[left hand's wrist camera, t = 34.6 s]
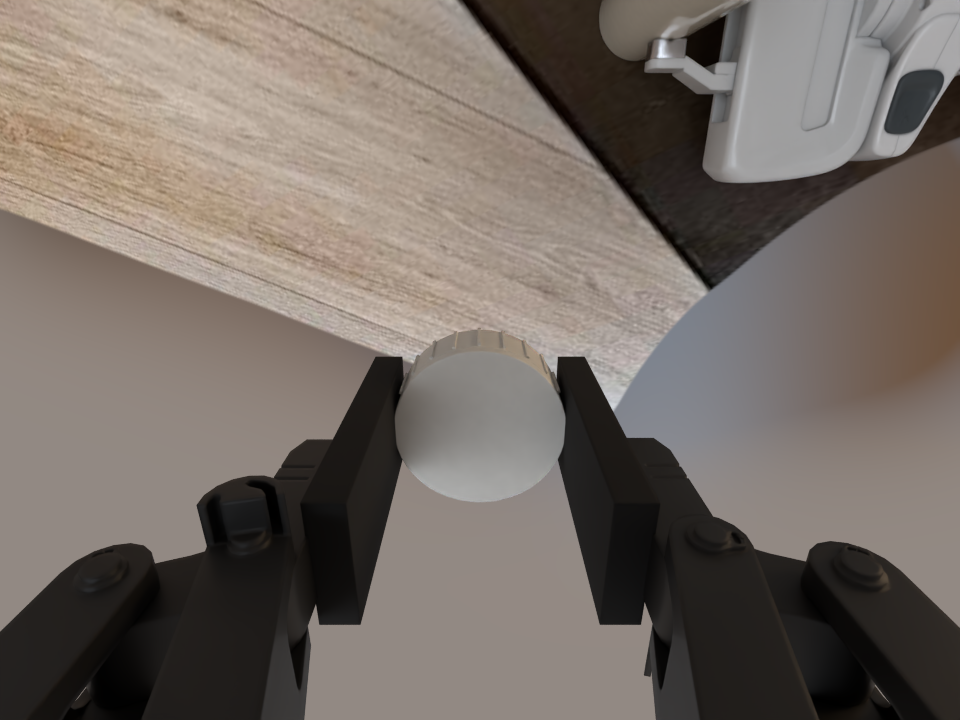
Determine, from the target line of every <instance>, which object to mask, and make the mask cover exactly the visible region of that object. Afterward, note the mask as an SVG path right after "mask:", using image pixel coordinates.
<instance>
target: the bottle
mask: <svg viewBox="0 0 960 720" xmlns="http://www.w3.org/2000/svg"><path fill="white" fill-rule="evenodd" d="M750 1H752V0H602V3H601V7H600V13H599V25H600V31H601V35H602V37H603V40H604V42H605V44H606V45H607V47H608V48H609V49H610V50H611V51H612V52H613V53H614V54H615V55H617V56H618V57H620V58H622V59H625V60H629V61H641V60H645V59H646V54H647V46H648V43H649V42H651V41H652V40H654V39H660V38H664V39H668V40H670V41H672V40H674V39H679V38H686V37H688V36H690V35H691V34H693V33H695V32H697V31H698V30H700V29H702V28H704V27H706V26H707V25H709V24H711V23H713V22H714V21H716V20H718V19H720V18H721V17H723V16H725V15H727V14H729V13H730V12H732V11H734V10H736V9H737V8H739V7H741V6H743V5H745V4H746V3H748V2H750Z"/></svg>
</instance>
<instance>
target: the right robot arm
mask: <svg viewBox="0 0 960 720" xmlns="http://www.w3.org/2000/svg"><path fill="white" fill-rule="evenodd" d="M686 44H687V39H684V38H679V39H674V40H672V41H670V40H668V39H664V38H660V39H654V40H652V41H651V42H649V43H648V46H647V54H646V62H645V71H644V72H646V73H672V76H674V77H675V78H676V79H678V80H679V81H680V82H682V83H683V84H684V85H686V86H687V87H688V88H690V89H691V90H692V91H694V92H695V93H696V94H714V95H713V102H712V108H711V114H710V121H709V127H708V133H707V139H706V146H705V152H704V158H703V169H704V170H705V172H706V173H707V174H708V175H709V176H710V177H711V178H713V179H714V180H715V181H719V182H727V183H756V182H770V181H781V180H789V179H796V178H802V177H808V176H814V175H819V174H823V173H826V172H829V171H831V170H834V169H836V168H838V167H840V166H842V165H843V164H845V163H846V162H847V161H868V160H878V159H885V158H890V157H896V156H899V155H901V154H903V153H904V152H905V151H907V149H908V148H909V147H910V146H911V145H912V143H913V142H914V140H915V139H916V137H917V135H918V134H919V132H920V130H921V129H922V127H923V125H924V124H925V122H926V120H927V119H928V117H929V115H930V114H931V112H932V110H933V109H934V107H935V106H936V104H937V102H938V101H939V99H940V98H941V96H942V94H943V93H944V91H945V90H946V88H947V87H948V85H949V84H950V82H951V81H952V79H953V78H954V76H958V75H960V0H752V1H750V2H748V3H746V4H745V5H743V6H741V7H739V8H737V9H736V10H734V11H732V12H730V13H729V14H727V15H726V19H725V26H724V32H723V38H722V45H721V51H720V57H719V62H718V63H715V64H713V65H710V66H707V67H705V68H704V67H702V66H701V65H699V64H698V63H696V62H695V61H694V60H692V59H691V58H689V57H688V56H686V55H685V53H686Z"/></svg>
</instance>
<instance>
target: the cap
mask: <svg viewBox="0 0 960 720" xmlns="http://www.w3.org/2000/svg"><path fill="white" fill-rule="evenodd" d="M560 392H561V391H560V388H559V385H558V383H557V380H556V377H555V374H554V372H551V370H550V368H549V367H548V365H547V364H546V362H545V360H544V357H543V355H542V354H540V355H539V354H538V353H537V352H536V351H535V350H534V349H533V348H532V347H530V346H529V345H527V344H526V341H525V340H523V341H521V340H519V339H517V338H515V337H513V336H510V335H508V334H505V332H504V331H501V332H496V331H490V330H481V328H478V330H470V331H464V332H459V333H457V331H455V332H454V334H452V335H449V336H447V337H445V338H443V339H441V340H439V341H437V342H436V340H435V341H433V344H432V345H431V346H430V347H429V348H427V349H426V350H425V351H424V352H423V353H422V354H421V355H420V356H419V355H417V356H416V359H415V362H414V364H413V365H412V367H411V369H410V371H409V373H406V374H405V377H404V380H403V383H402V385H401V388H400V391H399V394H401V396H400V399H399V402H398V405H397V408H396V412H395V430H396V443H397V448H398V451H399V453H400V455H401V458H402V459H403V461H404V463H405V464H406V466H407V467H408V469H409V470H410V471H411V472H412V473H413V475H415V476H416V477H417V478H418V479H419V480H420V481H421V482H422V483H424V484H425V485H426V486H428V487H429V488H431V489H432V490H434V491H436V492H438V493H440V494H442V495H445V496H447V497H451V498H454V499H457V500H462V501H469V502H491V501H498V500H502V499H506V498H510V497H513V496H515V495H518V494H520V493H522V492H524V491H526V490H528V489H529V488H531V487H532V486H534V485H535V484H537V483H538V482H539V481H540V480H541V479H543V478H544V477H545V476H546V475H547V473H548V472H549V471H550V470H551V469H552V467H553V466H554V464H555V463H556V461H557V459H558V457H559V455H560V453H561V451H562V448H563V445H564V435H565V420H566V417H565V411H564V408H563V404H562V401H561V398H560V395H559V393H560Z"/></svg>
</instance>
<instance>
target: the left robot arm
mask: <svg viewBox="0 0 960 720" xmlns="http://www.w3.org/2000/svg"><path fill="white" fill-rule="evenodd" d="M403 380H404V376H403V359H402V357H375V359H374V361H373V363H372V365H371V367H370V369H369V371H368V373H367V375H366V377H365V379H364V380H363V382H362V384H361V386H360V388H359V390H358V392H357V394H356V396H355V398H354V400H353V402H352V404H351V406H350V407H349V409H348V411H347V413H346V415H345V417H344V419H343V421H342V423H341V425H340V427H339V429H338V431H337V433H336V435H335V437H334V438H333V440H306V441H304V442H303V443H302V444H300V445H299V446H297V447H296V448H295V449H293V450H292V451H291V452H290V453H289V455H288V456H287V458H286V459H285V461H284V462H283V464H282V467H281V468H280V469H279V470H278V472H277V473H276V475H275V476H274V478H271V477H267V476H247V477H242V478H237V479H233V480H230V481H228V482H226V483H223V484H221V485H218V486H217V487H215V488H214V489H212V490H211V491H209V492H208V493H206V494H205V495H204V496H203V497H202V499H201V500H200V501H199V503H198V504H197V509H198V513H199V517H200V521H201V524H202V529H203V533H204V537H205V540H206V544H207V548H206V550H205V552H202V553H198V554H195V555H191V556H187V557H183V558H178V559H173V560H169V561H164V562H160V563H156V564H155V562H154V559H153V556H152V552H151V551H150V550H148V549H147V548H146V547H145V546H143V545H138V544H132V543H128V544H120V545H113V546H110V547H106V548H103V549H100V550H97V551H94V552H92V553H90V554H88V555H87V556H85V557H83V558H81V559H79V560H77V561H75V562H74V563H73V564H71V565H70V566H69V567H68V568H66V569H65V570H64V571H62V572H61V573H60V574H59V575H58V576H57V577H56V578H55V579H54V580H53V581H52V582H51V583H50V584H49V585H48V586H47V587H46V588H45V589H44V590H43V591H42V592H40V593H39V594H38V595H37V596H36V597H35V598H34V599H33V600H32V601H31V602H30V603H29V604H28V605H27V606H26V607H25V608H24V609H23V610H22V611H21V612H20V613H19V614H18V615H17V616H16V617H15V618H14V619H13V620H12V621H11V622H10V623H9V624H8V625H7V626H6V627H5V628H4V629H3V630H2V631H0V720H304V715H305V704H306V693H307V682H308V672H309V660H310V649H311V643H310V637H309V631H308V624H309V621H310V618H311V616H312V613H313V610H314V607H315V605H316V606H317V613H318V619H319V624H320V625H360V624H361V620H362V617H363V613H364V609H365V605H366V601H367V597H368V593H369V589H370V585H371V581H372V577H373V573H374V569H375V566H376V562H377V558H378V554H379V550H380V546H381V542H382V538H383V534H384V530H385V526H386V522H387V518H388V514H389V510H390V507H391V503H392V499H393V495H394V491H395V487H396V483H397V479H398V475H399V471H400V467H401V463H402V458H401V455H400V453H399V451H398V448H397V443H396V430H395V412H396V408H397V405H398V402H399V399H400V396H401V394H399V391H400V388H401V385H402V383H403ZM557 383H558V385H559V388H560V391H561V392H560V393H559V395H560V398H561V401H562V404H563V408H564V411H565V417H566V420H565V435H564V445H563V448H562V451H561V453H560V455H559V457H558V462H559V466H560V470H561V474H562V478H563V482H564V485H565V490H566V493H567V497H568V501H569V505H570V509H571V513H572V517H573V521H574V525H575V529H576V533H577V537H578V541H579V545H580V548H581V552H582V556H583V560H584V564H585V568H586V572H587V576H588V580H589V584H590V588H591V592H592V596H593V599H594V603H595V607H596V611H597V615H598V619H599V623H600V625H641V621H642V615H643V609H644V602H645V604H646V607H647V609H648V612H649V615H650V617H651V620H652V623H653V625H652V631H651V637H650V642H649V648H648V654H647V660H646V665H645V672H644V675H645V676H649V677H650V676H651V671H652V681H653V692H654V703H655V714H656V720H960V628H959V627H958V626H957V625H956V624H955V623H954V622H953V621H952V620H951V619H950V618H949V617H948V616H947V615H946V614H945V613H944V612H943V611H942V610H941V609H940V608H939V607H938V606H937V605H936V604H935V603H933V602H932V601H931V600H930V599H929V598H928V597H927V596H926V595H925V594H924V593H923V592H922V591H921V590H920V589H919V588H918V587H917V586H916V585H915V584H914V583H913V582H912V581H911V580H910V579H909V578H908V577H907V576H906V575H905V574H904V573H903V572H901V571H900V570H899V569H898V568H896V567H895V566H894V565H893V564H891V563H890V562H889V561H887V560H886V559H885V558H883V557H881V556H879V555H877V554H875V553H873V552H871V551H869V550H867V549H864V548H861V547H859V546H855V545H852V544H849V543H842V542H833V541H829V542H823V543H818V544H816V545H815V546H814V547H813V548H811V549H810V551H809V554H808V557H807V560H806V562H805V561H801V560H796V559H792V558H787V557H783V556H778V555H774V554H769V553H766V552H762V551H759V550H756V549H754V547H753V545H752V543H751V542H750V540H749V539H748V537H747V536H746V535H745V534H744V533H743V532H742V531H740V530H739V529H738V528H737V527H735V526H734V525H732V524H730V523H728V522H726V521H724V520H722V519H720V518H716V517H713V516H712V514H711V513H710V511H709V509H708V508H707V506H706V505H705V503H704V502H703V500H702V499H701V497H700V495H699V494H698V492H697V491H696V489H695V488H694V486H693V485H692V483H691V482H690V480H689V479H688V478H687V476H686V474H685V472H684V471H683V469H682V468H681V467H679V463H678V461H677V460H676V458H675V457H674V455H673V454H672V452H671V450H670V449H668V448H667V447H665V446H664V445H663V444H661V443H660V442H658V441H657V440H656V439H654V438H626V436H625V434H624V432H623V430H622V428H621V426H620V424H619V422H618V420H617V418H616V416H615V414H614V413H613V411H612V409H611V407H610V405H609V403H608V401H607V399H606V397H605V395H604V393H603V391H602V389H601V387H600V386H599V384H598V382H597V380H596V378H595V376H594V374H593V372H592V370H591V368H590V366H589V364H588V362H587V360H586V358H585V357H558V365H557ZM875 684H876V686H877V687H878V688H879V690H880V691H881V692H882V694H883V695H884V696H885V697H886V699H887V700H888V701H889V702H888V701H887V700H886V699H885V698H884V697H883V696H882V695H881V693H880V692H879V691H878V689H877V688H876V687H875ZM85 687H86V689H85V690H84V688H85ZM83 690H84V691H83ZM82 691H83V693H82V694H81V692H82ZM80 694H81V695H80ZM79 695H80V697H79V698H78V696H79ZM77 698H78V699H77ZM76 699H77V700H76ZM75 700H76V701H75Z"/></svg>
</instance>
